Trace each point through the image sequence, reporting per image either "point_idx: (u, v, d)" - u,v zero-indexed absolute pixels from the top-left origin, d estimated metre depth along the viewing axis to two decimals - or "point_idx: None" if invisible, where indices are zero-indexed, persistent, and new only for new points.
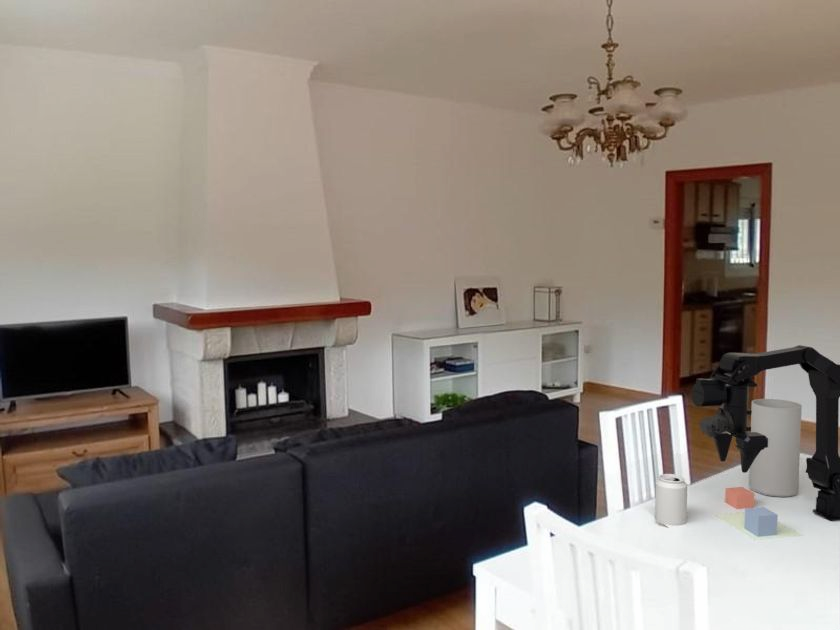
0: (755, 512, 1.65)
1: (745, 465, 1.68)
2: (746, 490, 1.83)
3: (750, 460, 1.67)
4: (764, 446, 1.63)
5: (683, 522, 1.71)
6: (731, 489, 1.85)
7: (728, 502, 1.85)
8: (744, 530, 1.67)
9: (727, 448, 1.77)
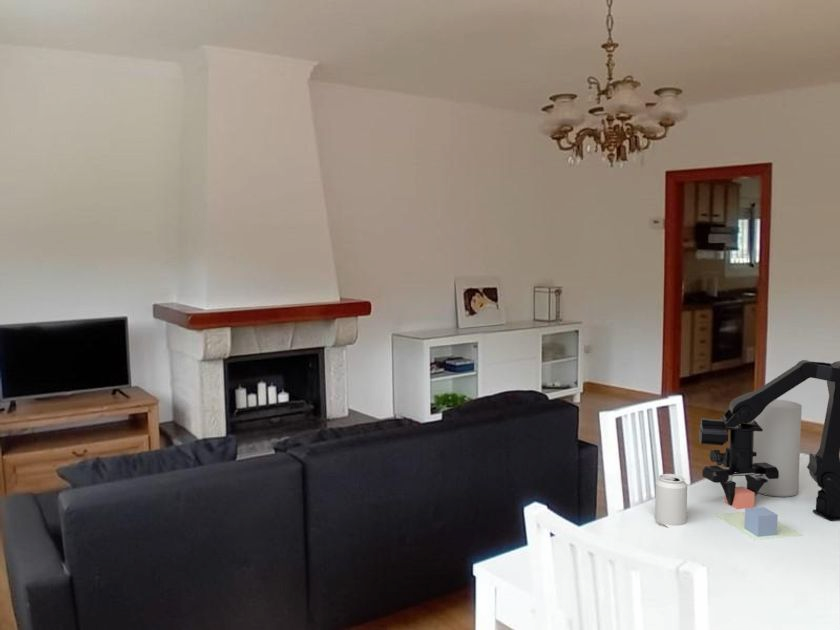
0: (755, 512, 1.65)
1: (728, 497, 1.84)
2: (746, 490, 1.83)
3: (729, 494, 1.82)
4: (711, 480, 1.80)
5: (683, 522, 1.71)
6: None
7: None
8: (744, 530, 1.67)
9: None
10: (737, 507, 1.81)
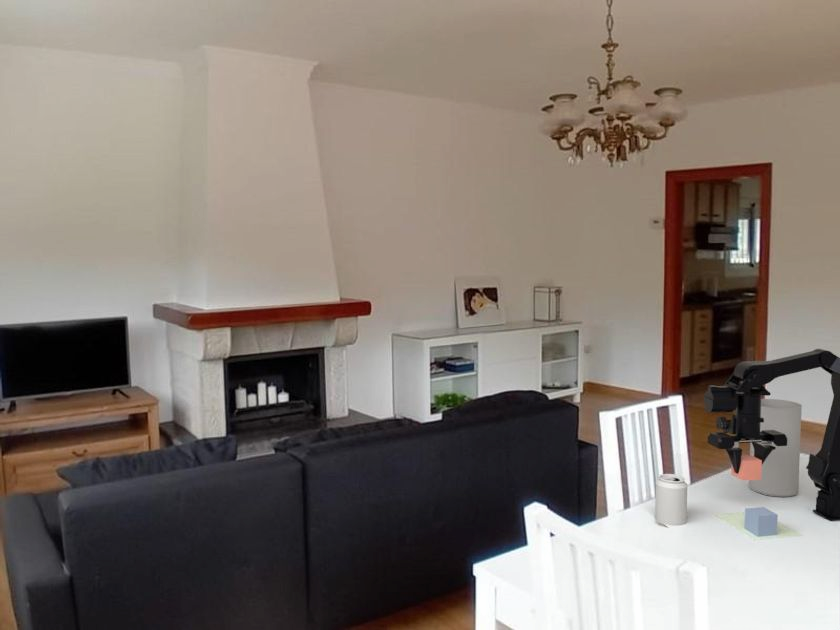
0: (755, 512, 1.65)
1: (734, 465, 1.77)
2: (753, 458, 1.77)
3: (735, 462, 1.76)
4: (716, 446, 1.74)
5: (683, 522, 1.71)
6: None
7: None
8: (744, 530, 1.67)
9: None
10: (743, 475, 1.75)
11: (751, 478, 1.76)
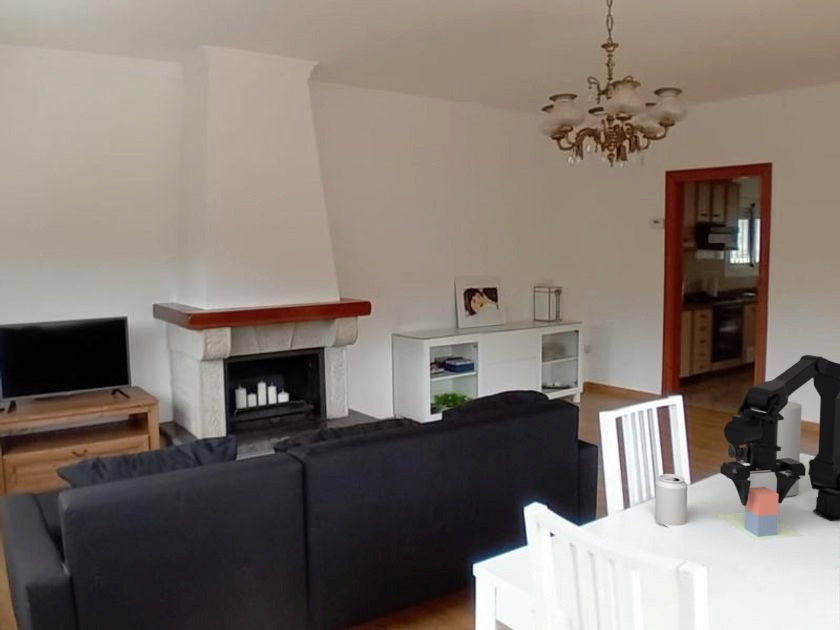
0: None
1: (741, 497, 1.65)
2: (769, 491, 1.65)
3: (743, 494, 1.64)
4: (731, 477, 1.62)
5: (683, 522, 1.71)
6: (752, 489, 1.66)
7: (749, 504, 1.66)
8: (744, 530, 1.67)
9: (783, 491, 1.65)
10: (759, 510, 1.63)
11: (767, 513, 1.64)
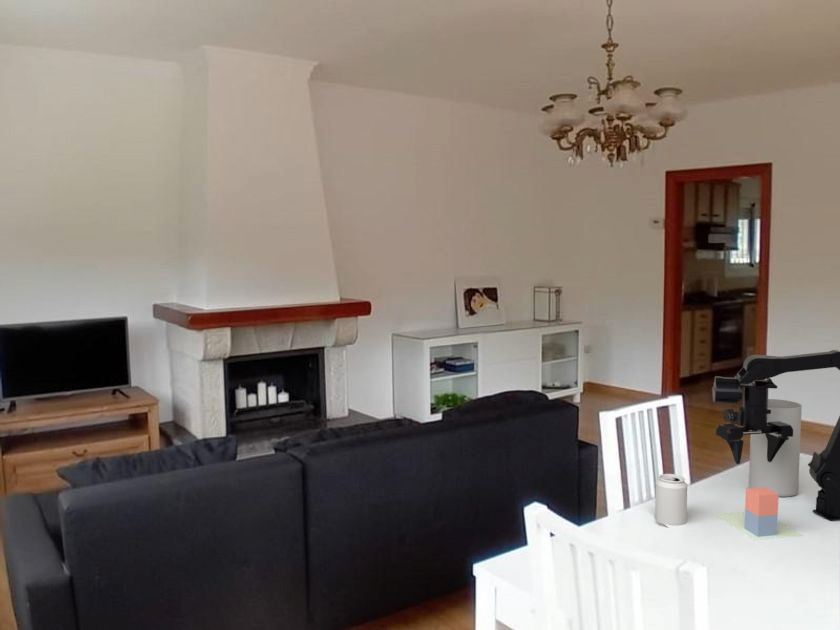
0: None
1: (735, 456, 1.82)
2: (769, 491, 1.65)
3: (736, 453, 1.80)
4: (725, 437, 1.79)
5: (683, 522, 1.71)
6: (752, 489, 1.66)
7: (749, 504, 1.66)
8: (744, 530, 1.67)
9: (773, 451, 1.82)
10: (759, 510, 1.63)
11: (767, 513, 1.64)
